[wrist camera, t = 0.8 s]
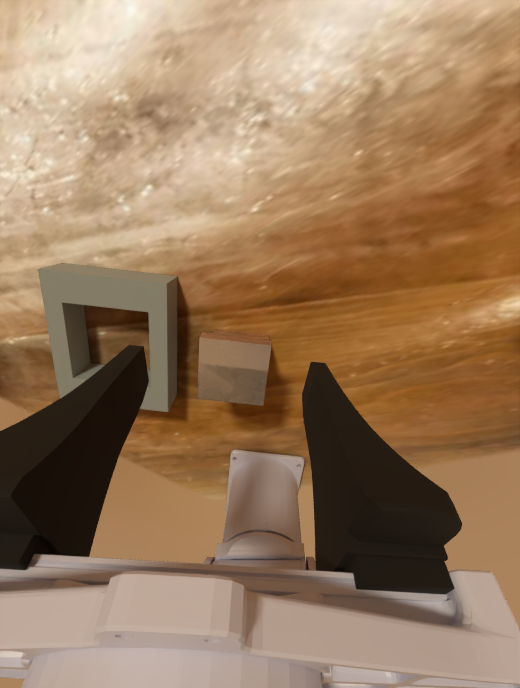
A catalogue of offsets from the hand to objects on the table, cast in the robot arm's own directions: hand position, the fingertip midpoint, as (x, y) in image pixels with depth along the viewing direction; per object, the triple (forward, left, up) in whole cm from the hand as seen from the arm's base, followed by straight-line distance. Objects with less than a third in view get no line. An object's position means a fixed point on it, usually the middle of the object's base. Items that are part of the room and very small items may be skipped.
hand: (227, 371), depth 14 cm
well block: (-5, +11, -15) cm, 19 cm away
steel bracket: (-5, 0, -15) cm, 16 cm away
